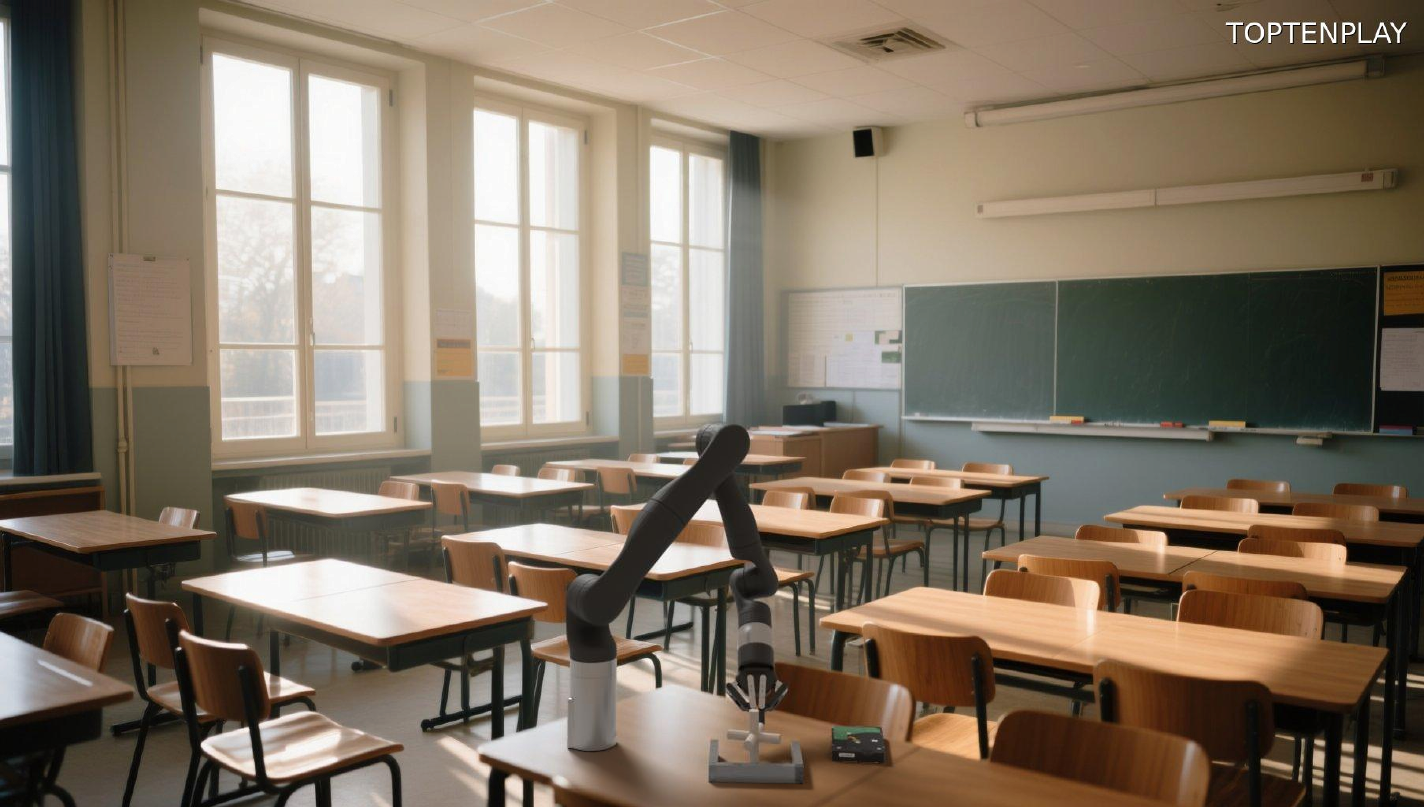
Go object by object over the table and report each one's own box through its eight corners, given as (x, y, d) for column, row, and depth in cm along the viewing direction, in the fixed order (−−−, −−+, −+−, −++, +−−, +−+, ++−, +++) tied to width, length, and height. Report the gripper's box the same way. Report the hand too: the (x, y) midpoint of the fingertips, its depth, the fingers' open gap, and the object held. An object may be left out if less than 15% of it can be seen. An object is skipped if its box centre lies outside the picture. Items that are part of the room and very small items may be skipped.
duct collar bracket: (708, 781, 181) (708, 765, 181) (710, 755, 195) (710, 739, 195) (803, 783, 181) (803, 767, 181) (798, 756, 194) (799, 741, 194)
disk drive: (886, 767, 191) (881, 739, 206) (886, 752, 191) (881, 725, 206) (831, 764, 192) (830, 737, 207) (831, 750, 192) (830, 723, 207)
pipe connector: (785, 756, 194) (785, 704, 194) (774, 776, 185) (774, 721, 184) (735, 750, 197) (735, 699, 197) (721, 770, 188) (721, 716, 187)
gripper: (723, 640, 206) (723, 721, 194) (788, 640, 206) (792, 721, 194) (723, 659, 211) (723, 738, 199) (786, 659, 211) (791, 738, 199)
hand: (757, 729), depth 196 cm, fingers closed
